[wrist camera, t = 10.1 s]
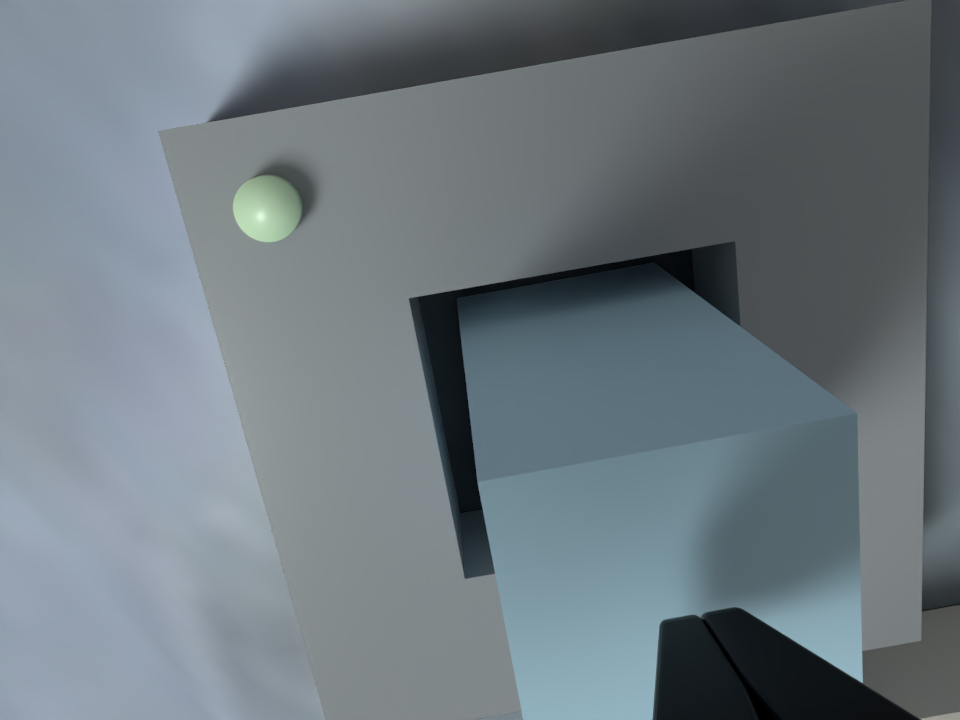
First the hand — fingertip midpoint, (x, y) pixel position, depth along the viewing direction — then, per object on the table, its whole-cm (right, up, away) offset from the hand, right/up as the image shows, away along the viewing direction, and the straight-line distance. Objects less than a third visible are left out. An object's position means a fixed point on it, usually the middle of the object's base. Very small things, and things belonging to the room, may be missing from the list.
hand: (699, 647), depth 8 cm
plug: (0, +3, +8) cm, 9 cm away
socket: (0, +3, +8) cm, 9 cm away
